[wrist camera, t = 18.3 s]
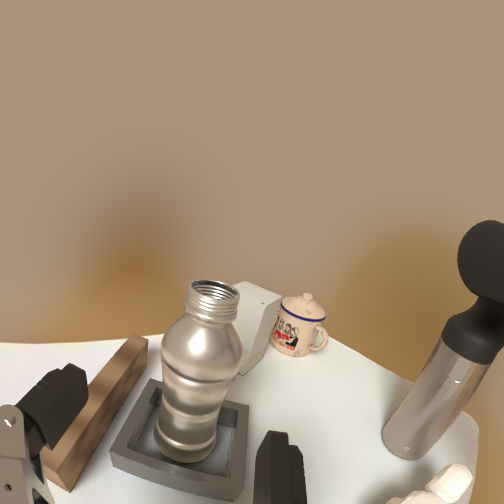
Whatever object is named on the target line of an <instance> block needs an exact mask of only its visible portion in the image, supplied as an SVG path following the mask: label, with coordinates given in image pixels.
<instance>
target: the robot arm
mask: <svg viewBox="0 0 504 504" xmlns="http://www.w3.org/2000/svg"><path fill="white" fill-rule="evenodd" d="M457 259H458V260H457V262H458V269H459V273H460V276H461V278H462V280H463V282H464V284H465V286H466V287H467V288H468V289H469V290H470V291H471V292H472V293H474V294H475V295H477V296H479V297H478V299H477V301H476V303H475V304H474V305H473V306H472V307H471V308H470V309H468V310H467V311H465V312H462V313H459V314H457V315H453V316H452V317H450V319H449V320H448V321H447V323H446V325H445V328H444V329H443V331H442V333H441V336H440V338H439V340H438V342H437V344H436V346H435V348H434V350H433V351H432V354H431V355H430V358H429V359H428V361H427V363H426V365H425V366H424V368H423V370H422V372H421V373H420V375H419V377H418V378H417V380H416V381H415V383H414V385H413V386H412V388H411V389H410V391H409V392H408V394H407V396H406V397H405V399H404V400H403V402H402V403H401V404H400V406H399V407H398V409H397V410H396V411H395V413H394V414H393V416H392V417H391V418H390V420H389V421H388V422H387V424H386V425H385V426H384V428H383V430H382V439H383V442H384V444H385V445H386V447H387V448H388V449H389V450H390V451H391V452H392V453H393V454H395V455H396V456H398V457H400V458H403V459H407V460H416V459H419V458H421V457H423V456H424V455H425V454H426V453H427V452H428V451H429V450H430V449H431V448H432V447H433V445H434V444H435V443H436V442H437V441H438V440H439V439H440V438H441V436H442V435H443V434H444V433H445V432H446V430H447V429H448V428H449V427H450V425H451V424H452V423H453V422H454V420H455V419H456V418H457V416H458V415H459V414H460V412H461V411H462V409H463V408H464V407H465V405H466V404H467V402H468V401H469V400H470V398H471V396H472V395H473V393H474V392H475V391H476V389H477V387H478V386H479V384H480V383H481V381H482V379H483V378H484V376H485V374H486V372H487V371H488V369H489V367H490V366H491V364H492V362H493V360H494V358H495V357H496V355H497V353H498V352H499V351H500V350H501V349H502V348H503V346H504V224H503V223H500V222H498V221H494V220H487V221H483V222H480V223H478V224H476V225H475V226H473V227H472V228H471V229H470V230H469V231H468V232H467V233H466V234H465V235H464V237H463V239H462V241H461V243H460V246H459V249H458V257H457ZM88 397H89V391H88V385H87V378H86V372H85V371H84V370H83V369H81V368H79V367H77V366H75V365H73V364H71V363H69V364H67V365H66V366H65V367H64V368H63V369H62V370H60V369H58V368H57V369H55V370H53V371H50V372H48V373H47V374H46V375H45V376H44V377H43V378H42V380H40V381H39V382H38V383H37V384H36V386H34V387H33V388H32V389H31V390H30V391H29V392H28V393H27V394H26V395H25V396H24V397H23V398H22V399H21V400H20V401H19V402H18V403H17V404H16V405H14V406H13V405H3V406H1V407H0V504H55V502H54V499H53V496H52V494H51V492H50V490H49V488H48V484H47V479H46V475H45V469H44V463H43V457H42V451H41V450H42V448H43V447H44V446H45V447H47V448H48V449H50V450H51V451H52V450H53V449H54V448H55V446H56V445H57V443H58V442H59V441H60V439H61V438H62V436H63V435H64V434H65V432H66V431H67V429H68V428H69V427H70V425H71V424H72V423H73V421H74V420H75V418H76V417H77V416H78V414H79V413H80V412H81V410H82V409H83V408H84V406H85V405H86V403H87V401H88ZM303 466H304V463H303V455H302V453H301V452H300V450H299V448H298V447H297V446H295V445H289V442H288V434H287V433H285V432H278V431H271V430H269V431H268V432H267V434H266V436H265V438H264V440H263V441H262V443H261V445H260V447H259V449H258V452H257V455H256V462H255V480H254V497H253V504H307V495H306V484H305V476H304V474H305V473H304V468H303Z"/></svg>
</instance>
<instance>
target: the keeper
mask: <svg viewBox="0 0 504 504" xmlns="http://www.w3.org/2000/svg"><path fill="white" fill-rule="evenodd" d="M162 384H163V382H160V381H157V380H154V379H151V378H150V379H149V381H148V383H147V384H146V386H145V388H144V390H143V391H142V393H141V395H140V397H139V398H138V400H137V402H136V404H135V405H134V407H133V409H132V411H131V413H130V414H129V416H128V418H127V420H126V421H125V423H124V425H123V427H122V429H121V430H120V432H119V434H118V436H117V438H116V439H115V441H114V443H113V445H112V447H111V449H110V450H109V451H110V456H111V460H112V464H113V467H116V468H118V469H120V470H123V471H125V472H127V473H130V474H132V475H135V476H138V477H140V478H143V479H146V480H149V481H151V482H154V483H157V484H160V485H164V486H167V487H170V488H174V489H177V490H181V491H184V492H188V493H192V494H196V495H201V496H205V497H210V498H215V499H220V500H226V501H232V502H234V501H235V500H236V498H237V497H238V496H239V494H240V493H241V491H242V488H243V476H244V464H245V451H246V439H247V426H248V413H249V406H248V405H243V404H238V403H234V402H229V401H225V400H224V401H223V403H222V405H221V408H220V411H219V415H218V420H217V424H220V425H224V426H228V427H232V432H231V440H230V447H229V454H228V461H227V468H226V476H225V477H222V476H217V475H212V474H208V473H203V472H199V471H195V470H191V469H187V468H184V467H180V466H177V465H173V464H170V463H167V462H164V461H161V460H158V459H155V458H152V457H149V456H146V455H144V454H141V453H138V452H136V451H133V450H134V448H135V446H136V444H137V442H138V440H139V438H140V435H141V433H142V431H143V429H144V427H145V425H146V423H147V421H148V419H149V417H150V415H151V412H152V410H153V408H154V406H158V407H160V405H161V401H162Z"/></svg>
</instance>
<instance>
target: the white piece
mask: <svg viewBox="0 0 504 504" xmlns="http://www.w3.org/2000/svg"><path fill="white" fill-rule="evenodd" d="M472 478H473V477H472V474H471V472H470V470H469V469H468V468H467V467H466V466H465V465H463V464H461V463H457V462H455V463H452V464H450V465H448V466H446V467H444V468H443V469H442V470H441V471H440V472H439V473H437V474H436V475H435V476H434V477H433V479H432V480H431V481H430V482H429V483H427V484H426V488H425V491H413V492H412V493H410V494H409V495H408V496H406V497H404V498H403V499H401V498H399V497H393V498H392V499H390V500H389V501H388V502H387V503H386V504H452V503H454V502H456V501H457V500H458V499H459V498H460V497H461V495H462V494H463V493H464V492H465V491H466V489H467V488H468V486H469V484H470V482H471V480H472Z"/></svg>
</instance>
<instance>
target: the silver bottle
mask: <svg viewBox="0 0 504 504" xmlns="http://www.w3.org/2000/svg"><path fill="white" fill-rule="evenodd" d="M239 299H240V293H239V291H238V290H237V289H235V288H234V287H232V286H230V285H228V284H226V283H223V282H220V281H216V280H210V279H196V280H193V281H191V282H190V285H189V288H188V294H187V298H186V299H185V303H184V309H185V310H186V313H185V314H184V315H182V316H181V317H180V318H179V319H177V320H176V321H175V322H174V323H173V324H172V325H171V326H170V327H169V328H168V330H167V331H166V333H165V335H164V337H163V339H162V342H161V361H162V375H163V384H162V401H161V405H160V410H159V414H158V416H157V418H156V420H155V423H154V427H153V437H154V440H155V444H156V446H157V448H158V449H159V450H160V452H161V453H163V454H164V455H165V456H166V457H168V458H170V459H172V460H174V461H178V462H182V463H194V462H198V461H201V460H203V459H205V458H206V457H207V456H208V455H209V454H210V453H211V451H212V450H213V449H214V447H215V444H216V437H217V430H216V426H217V420H218V415H219V411H220V408H221V405H222V403H223V401H224V398H225V396H226V393H227V391H228V389H229V388H230V386H231V384H232V382H233V380H234V378H235V377H236V375H237V373H238V371H239V369H240V367H241V364H242V362H243V346H242V343H241V340H240V338H239V336H238V333H237V332H236V330H235V328H234V326H233V324H232V322H233V321H235V319H236V317H237V313H238V311H237V307H238V303H239Z"/></svg>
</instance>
